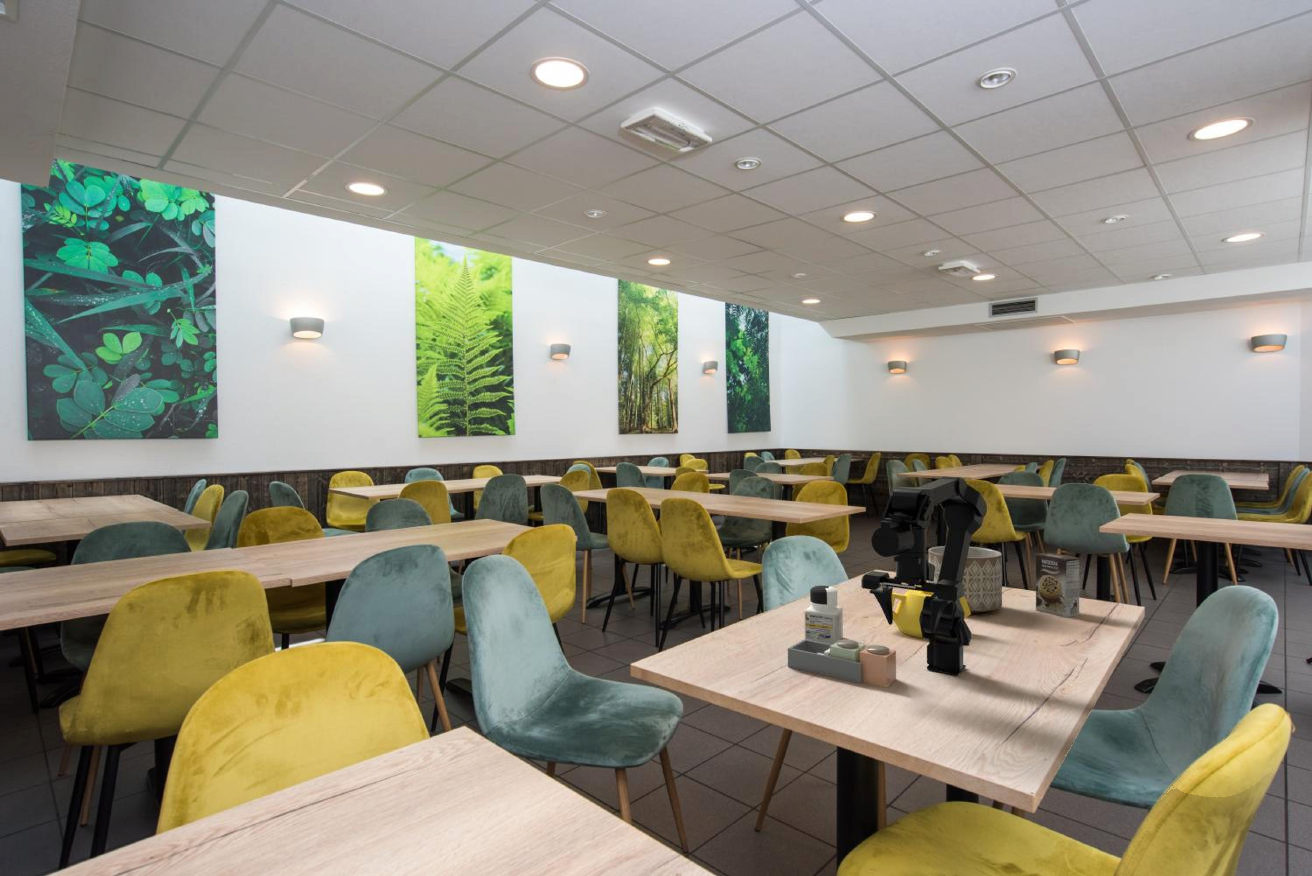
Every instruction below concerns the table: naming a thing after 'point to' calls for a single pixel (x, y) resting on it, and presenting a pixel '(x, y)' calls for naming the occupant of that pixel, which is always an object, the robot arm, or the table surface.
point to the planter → (977, 577)
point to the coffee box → (1057, 584)
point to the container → (823, 616)
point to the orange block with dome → (878, 665)
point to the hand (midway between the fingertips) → (911, 628)
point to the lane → (822, 661)
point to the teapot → (914, 611)
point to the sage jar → (847, 650)
